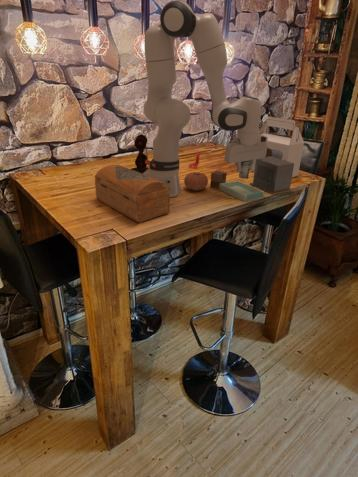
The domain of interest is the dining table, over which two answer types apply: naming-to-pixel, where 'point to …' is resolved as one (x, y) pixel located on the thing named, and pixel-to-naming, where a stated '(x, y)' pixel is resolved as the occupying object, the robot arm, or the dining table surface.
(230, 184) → the tray
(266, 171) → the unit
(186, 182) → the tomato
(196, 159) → the bracket
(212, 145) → the dining table surface
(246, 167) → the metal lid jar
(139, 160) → the dark statuette
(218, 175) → the walnut block
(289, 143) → the gable box
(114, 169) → the wooden box
